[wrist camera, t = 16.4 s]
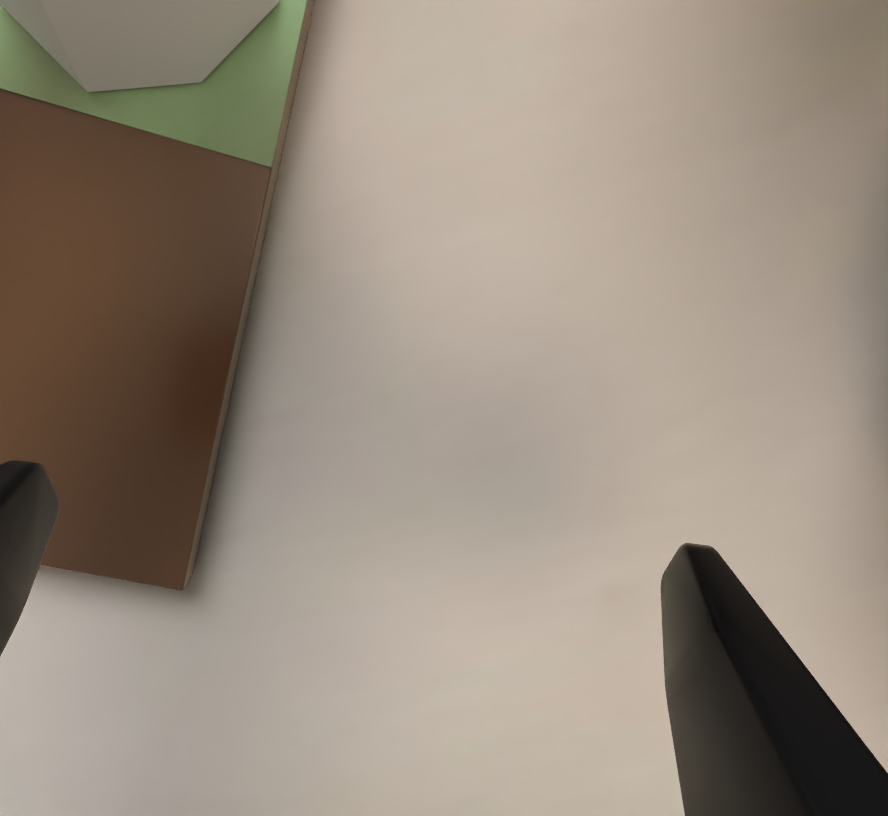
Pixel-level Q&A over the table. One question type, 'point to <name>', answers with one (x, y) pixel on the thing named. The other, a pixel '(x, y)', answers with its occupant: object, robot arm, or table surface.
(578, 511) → the table surface
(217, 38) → the flask
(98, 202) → the walnut board
